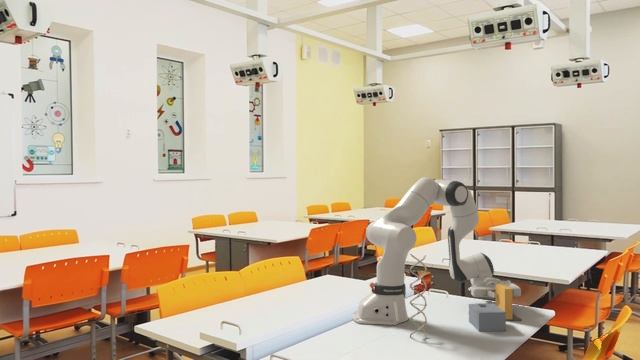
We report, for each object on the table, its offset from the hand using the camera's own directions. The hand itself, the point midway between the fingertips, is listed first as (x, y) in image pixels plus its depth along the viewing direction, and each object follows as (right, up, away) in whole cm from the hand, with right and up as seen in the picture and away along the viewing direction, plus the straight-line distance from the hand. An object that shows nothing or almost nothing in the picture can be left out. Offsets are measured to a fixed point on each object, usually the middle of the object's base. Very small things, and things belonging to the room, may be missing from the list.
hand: (502, 295), depth 211 cm
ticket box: (-11, -9, -13) cm, 19 cm away
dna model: (-39, -9, -26) cm, 48 cm away
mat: (0, -8, -2) cm, 8 cm away
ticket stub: (0, -8, -2) cm, 8 cm away
